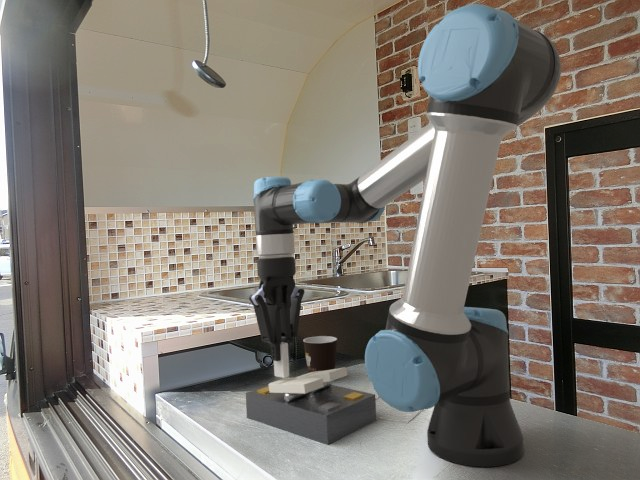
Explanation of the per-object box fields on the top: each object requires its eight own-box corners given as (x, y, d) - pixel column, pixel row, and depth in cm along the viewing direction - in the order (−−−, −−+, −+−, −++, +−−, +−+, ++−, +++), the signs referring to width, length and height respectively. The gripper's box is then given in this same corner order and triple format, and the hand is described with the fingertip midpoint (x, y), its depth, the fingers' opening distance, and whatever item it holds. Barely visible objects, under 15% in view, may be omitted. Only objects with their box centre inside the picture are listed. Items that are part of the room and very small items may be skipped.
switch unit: (376, 420, 95) (374, 386, 95) (327, 444, 85) (326, 407, 85) (296, 399, 110) (295, 369, 110) (246, 417, 100) (245, 385, 100)
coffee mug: (339, 383, 121) (337, 342, 121) (304, 384, 121) (302, 343, 121) (338, 370, 133) (336, 333, 133) (306, 371, 133) (304, 334, 133)
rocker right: (347, 375, 99) (345, 366, 99) (330, 381, 95) (328, 372, 95) (312, 380, 105) (311, 372, 106) (296, 386, 102) (294, 377, 102)
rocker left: (323, 386, 94) (322, 377, 94) (305, 393, 90) (303, 383, 90) (288, 386, 100) (286, 377, 100) (269, 392, 97) (268, 383, 97)
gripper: (286, 255, 105) (292, 366, 105) (237, 258, 96) (243, 381, 95) (312, 254, 100) (318, 371, 100) (263, 258, 90) (269, 387, 90)
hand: (281, 376), depth 98 cm, fingers closed
